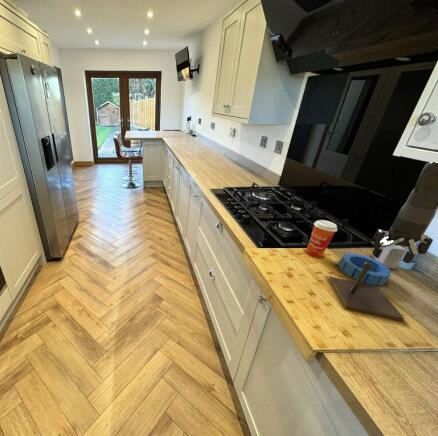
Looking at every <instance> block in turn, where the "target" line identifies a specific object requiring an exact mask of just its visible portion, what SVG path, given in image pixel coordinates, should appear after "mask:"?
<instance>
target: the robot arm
mask: <svg viewBox="0 0 438 436" xmlns="http://www.w3.org/2000/svg"><path fill="white" fill-rule="evenodd" d="M437 211H438V163H435V162H429V161H428V162H426V164H425V165H424V166H423V168H422V170H421V172H420V174H419V177H418V178H417V181H416V184H415V186H414V188H413V189H412V191H411V192H410V194H409V195H408V197H407V199H406V201H405V202H404V204H403V205H402V207H401V208H400V210H399V211H398V213H397V215H396V217H395V219H394V221H393V223H392V224H391V228H390V229H389V230H388V231H387V230H383V229H382V228H378V229H377V230H376V232H375V233H374V235H373V237H372V238H371V240H370V244H371V245H372V246H373V247H374V249H373V251H372V253H371V255H372V254H373V256H374V257H375V258H379V257H380V255H381V253H382V251H383V249H384V248H386V247H390V246H392V245H396V246H401V247H402V248H403V247H404V248H407V250H408V251H407V250H406V252H405V253H404V255H403V257H402V262H403V263H405V264H410V263H411V262H413V260H414V259H415V257H416V256H417V255H426V254H427V252H428V250H429V249H430V247H431V245H432V244H433V241H434V239H433V238H431V237H430V236H428V235H424V234H425V233H426V231H427V230H428V228H429V226H430V225H431V223H432V221H433V220H434V218H435V217H436V214H437ZM381 240H382V241H381ZM389 240H390V242H388V241H389ZM418 242H419V243H418ZM416 243H418V245H416ZM373 256H372V257H373Z"/></svg>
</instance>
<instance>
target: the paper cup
mask: <svg viewBox="0 0 438 436" xmlns="http://www.w3.org/2000/svg"><path fill="white" fill-rule="evenodd" d="M313 225H314V226H313V228H312V232H311V235H310V238H309V241H308V244H307V246H306V247H307V248H306V253H307V254H308V255H310V256H311V257H314V258H321V257H323V255H324V253H325V252H326V250H327V248H328V246H329V244H330V242H331V241H332V239H333V237H334V235H335V233H336V232H338V225H337V224H336V223H334V222H332V221H329V220H324V219H319V220H316V221H315V222H313Z"/></svg>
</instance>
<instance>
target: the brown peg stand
mask: <svg viewBox="0 0 438 436" xmlns="http://www.w3.org/2000/svg"><path fill="white" fill-rule="evenodd" d="M363 266H364V267H362V271H361V273H360V275H359V276H358V278H357V280H349V279H344V278H339V277H334V276H329V278H328V280H329V282H330V284H331V286H332V288H333V289H334V292H336V294H337V296H338V298H339V300H340V301H341V303H342V305H343V306H344V308H345V309H347V310H351V311H356V312H360V313H364V314H369V315H373V316H377V317H382V318H386V319H391V320H396V321H400V322H403V320H404V319H405V318H404V317H403V315H402V314H401V312H399V310H398V308H396V307H395V306H394V304H393V303H392V301H390V300H389V298H388V297H387V296H386V294H385V293H384V291H382V289H381V288H380V287H379V285H371V284H366V283H364V282H362V280H363V278H364V276H365V275H366V273H367V271H369V270H368V269H370V268H372V264H371V263H369V262H365V263H364V264H363Z"/></svg>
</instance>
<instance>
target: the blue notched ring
mask: <svg viewBox="0 0 438 436" xmlns="http://www.w3.org/2000/svg"><path fill="white" fill-rule="evenodd" d="M365 262H369V263H371V264H372V268H370V269H368V271H367V273H366V275H365V276H364V278H363V280H362V282H361V283H364V284H369V285H374V286H383V285H385V284H386V283H387V281H388V279H389V278H390V276H391V274H392V270H391V268H388V267H387V266H386V265H384V264H383V263H381V262H379V261H377V260H375V259H374V258H373V257H370V256H367V255H364V254H360V253H355V252H349V253H348V252H347V253H343V255H342V257H341V259H340V260H339V262H338V264H337V267H338V268H339V270H340V271H341V272H342V273H343V274H344V275H346V276H348V277H349V278H352V279H353V280H354V281H356V280H357V278H358V276H359V275H360V273H361V271H362V269H363V267H364V266H363V264H364V263H365Z"/></svg>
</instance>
